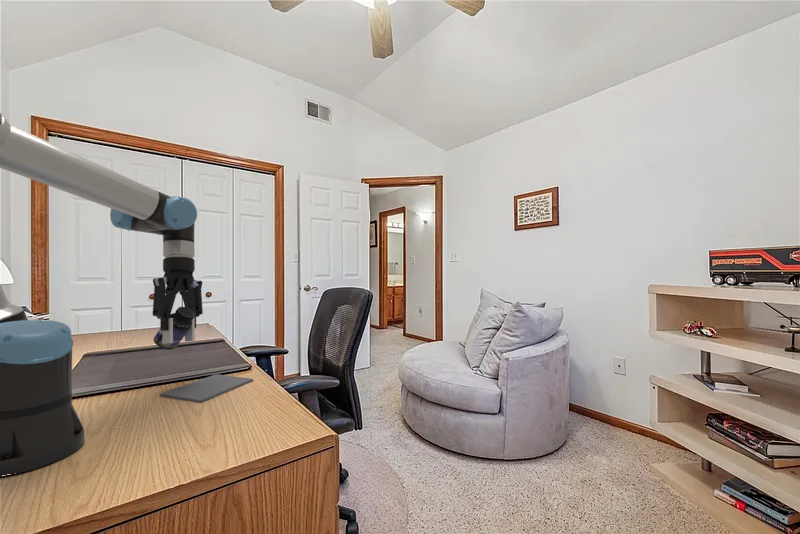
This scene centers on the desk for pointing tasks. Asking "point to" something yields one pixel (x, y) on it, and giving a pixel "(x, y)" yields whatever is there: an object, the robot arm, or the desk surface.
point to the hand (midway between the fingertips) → (179, 342)
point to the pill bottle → (177, 327)
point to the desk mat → (206, 388)
